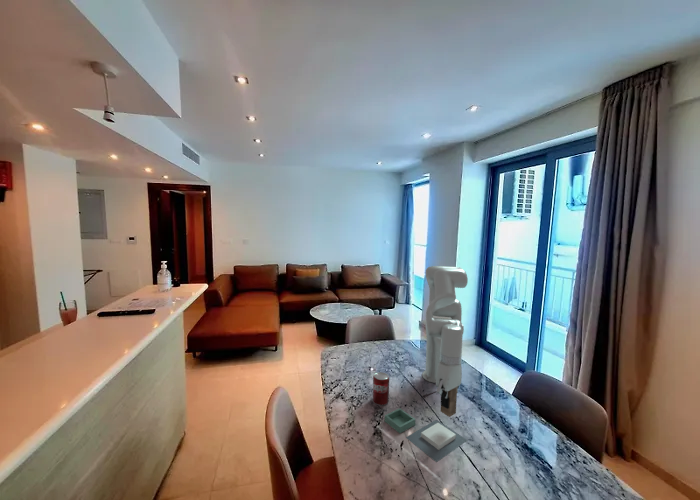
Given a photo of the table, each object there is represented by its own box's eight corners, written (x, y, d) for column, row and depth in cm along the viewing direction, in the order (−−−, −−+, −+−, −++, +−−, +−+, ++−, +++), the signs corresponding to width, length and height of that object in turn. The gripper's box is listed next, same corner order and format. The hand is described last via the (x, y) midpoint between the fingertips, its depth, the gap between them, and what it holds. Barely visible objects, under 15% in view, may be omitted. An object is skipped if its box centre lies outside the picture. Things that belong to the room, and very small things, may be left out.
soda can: (388, 407, 128) (388, 381, 127) (371, 405, 130) (372, 378, 129) (389, 397, 135) (389, 372, 134) (373, 395, 137) (374, 371, 136)
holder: (399, 414, 123) (399, 408, 123) (415, 426, 116) (415, 419, 116) (384, 422, 118) (384, 415, 118) (399, 434, 111) (400, 427, 111)
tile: (438, 422, 115) (421, 432, 110) (455, 434, 109) (438, 445, 103) (437, 426, 115) (420, 436, 110) (455, 438, 109) (438, 450, 103)
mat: (436, 420, 120) (436, 419, 120) (467, 441, 108) (467, 440, 108) (405, 438, 109) (405, 437, 109) (436, 463, 98) (436, 462, 98)
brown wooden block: (446, 407, 115) (448, 378, 114) (455, 413, 111) (457, 383, 110) (440, 411, 112) (441, 381, 111) (449, 417, 109) (450, 386, 108)
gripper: (455, 349, 118) (453, 393, 120) (428, 359, 108) (426, 407, 110) (472, 356, 112) (469, 402, 113) (445, 368, 102) (443, 417, 104)
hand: (448, 404), depth 112 cm, fingers closed on brown wooden block, 4 cm apart
